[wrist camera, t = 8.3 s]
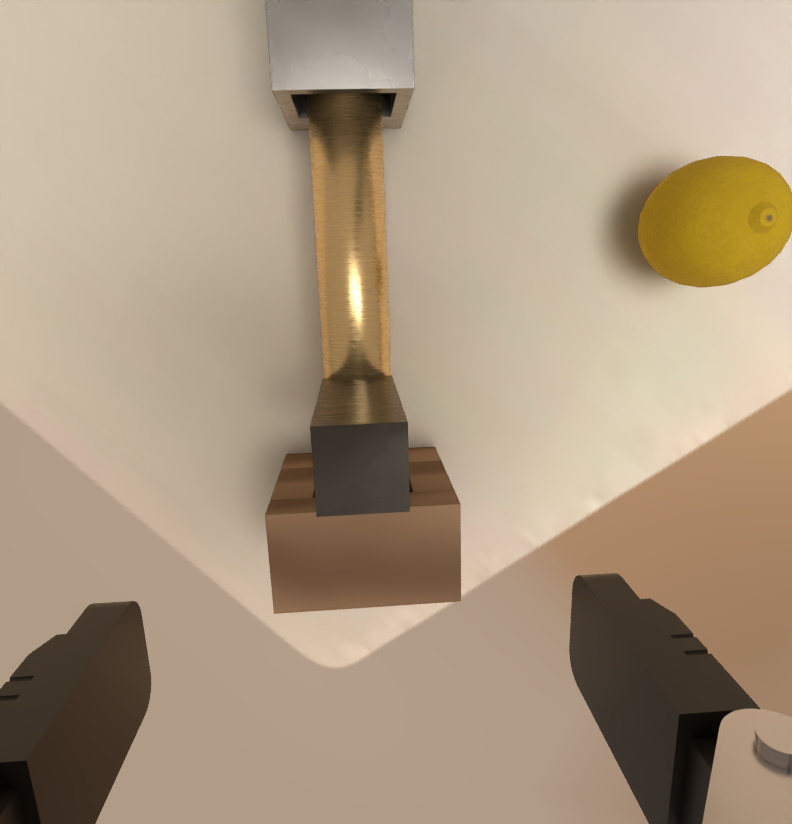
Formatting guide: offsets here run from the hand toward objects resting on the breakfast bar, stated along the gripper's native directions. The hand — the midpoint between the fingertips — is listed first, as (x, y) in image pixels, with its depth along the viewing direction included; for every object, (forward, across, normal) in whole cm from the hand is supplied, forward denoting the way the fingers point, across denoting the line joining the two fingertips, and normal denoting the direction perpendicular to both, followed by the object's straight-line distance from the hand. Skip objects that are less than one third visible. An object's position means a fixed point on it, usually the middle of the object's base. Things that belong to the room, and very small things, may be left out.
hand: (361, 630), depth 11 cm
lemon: (+21, -16, -8) cm, 28 cm away
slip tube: (+19, 0, -5) cm, 19 cm away
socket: (+21, 0, +6) cm, 22 cm away
